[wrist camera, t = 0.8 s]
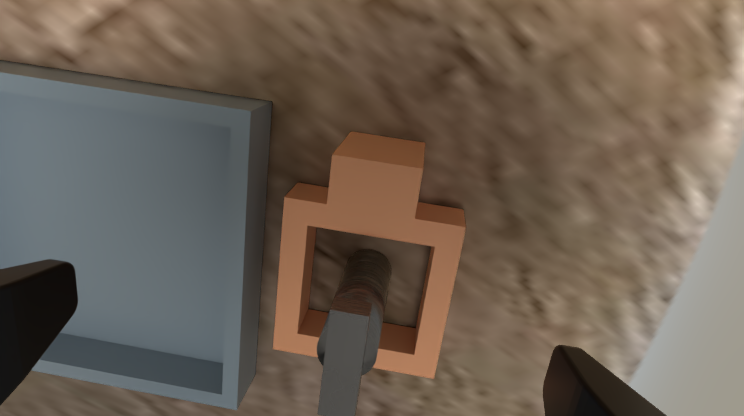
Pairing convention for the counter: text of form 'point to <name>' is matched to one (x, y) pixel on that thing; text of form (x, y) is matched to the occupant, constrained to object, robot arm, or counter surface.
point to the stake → (352, 331)
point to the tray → (140, 225)
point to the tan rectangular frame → (378, 219)
